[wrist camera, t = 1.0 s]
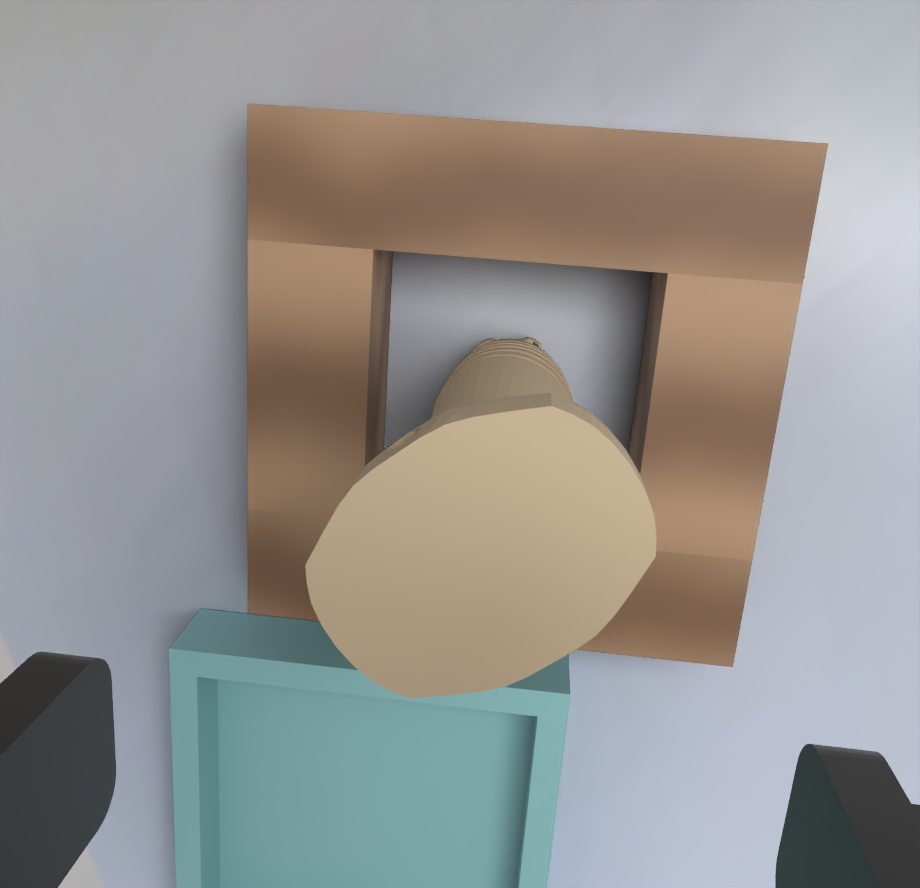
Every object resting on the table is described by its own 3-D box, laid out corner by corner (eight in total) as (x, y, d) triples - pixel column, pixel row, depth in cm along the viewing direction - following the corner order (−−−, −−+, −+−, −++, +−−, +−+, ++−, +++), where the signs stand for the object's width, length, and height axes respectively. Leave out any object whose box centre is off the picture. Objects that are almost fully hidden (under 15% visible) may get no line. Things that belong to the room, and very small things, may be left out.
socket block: (283, 112, 28) (247, 103, 25) (793, 147, 27) (828, 143, 24) (278, 569, 33) (247, 613, 30) (713, 615, 32) (732, 667, 28)
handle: (630, 384, 30) (706, 576, 15) (474, 483, 31) (412, 742, 17) (550, 264, 29) (552, 349, 14) (393, 373, 30) (256, 546, 16)
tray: (200, 608, 34) (168, 648, 31) (568, 649, 33) (570, 694, 30) (206, 902, 38) (177, 962, 35) (532, 946, 37) (531, 1011, 34)
